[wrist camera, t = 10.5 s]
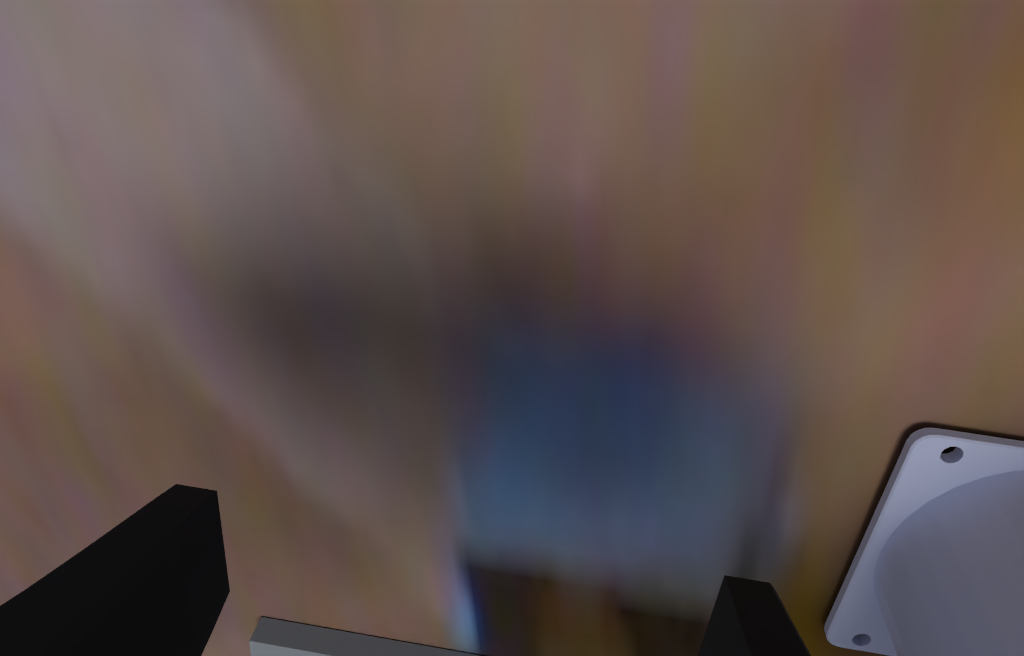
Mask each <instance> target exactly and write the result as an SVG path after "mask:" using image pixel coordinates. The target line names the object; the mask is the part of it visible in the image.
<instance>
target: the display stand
mask: <svg viewBox="0 0 1024 656" xmlns="http://www.w3.org/2000/svg"><path fill="white" fill-rule="evenodd" d="M249 643H250V651H251V656H480V655H474V654H469V653H463V652H457V651H452V650H446V649H440V648H435V647H429V646H424V645H418V644H412V643H407V642H401V641H395V640H390V639H384V638H378V637H373V636H367V635H361V634H356V633H350V632H345V631H339V630H333V629H328V628H322V627H316V626H311V625H305V624H299V623H294V622H288V621H283V620H277V619H271V618H266V617H261V619H260V621H259V623H258V625H257V627H256V629H255V631H254V633H253V635H252V637H251V638H250V640H249Z"/></svg>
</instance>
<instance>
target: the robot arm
mask: <svg viewBox="0 0 1024 656" xmlns="http://www.w3.org/2000/svg"><path fill="white" fill-rule="evenodd" d="M948 447H956V448H955V449H954V451H952V452H950V453H942V451H943V450H944V449H946V448H948ZM229 592H230V590H229V582H228V574H227V566H226V558H225V551H224V543H223V535H222V527H221V520H220V512H219V504H218V496H217V491H214V490H208V489H202V488H196V487H190V486H184V485H178V484H176V485H174V486H173V487H171V488H170V489H168V490H167V491H165V492H164V493H163V494H161V495H160V496H158V497H157V498H155V499H154V500H153V501H151V502H150V503H148V504H147V505H145V506H144V507H143V508H141V509H140V510H138V511H137V512H136V513H134V514H133V515H131V516H130V517H129V518H127V519H126V520H124V521H123V522H122V523H120V524H119V525H117V526H116V527H115V528H113V529H112V530H110V531H109V532H108V533H106V534H105V535H103V536H102V537H100V538H99V539H98V540H96V541H95V542H93V543H92V544H91V545H89V546H88V547H86V548H85V549H84V550H82V551H81V552H79V553H78V554H76V555H75V556H74V557H72V558H71V559H69V560H68V561H66V562H65V563H63V564H62V565H60V566H59V567H58V568H56V569H55V570H53V571H52V572H50V573H49V574H47V575H46V576H44V577H43V578H42V579H40V580H39V581H37V582H36V583H34V584H33V585H31V586H30V587H29V588H27V589H26V590H24V591H23V592H21V593H20V594H18V595H16V596H15V597H13V598H12V599H10V600H9V601H7V602H6V603H4V604H2V605H1V606H0V656H201V655H202V653H203V650H204V648H205V646H206V644H207V642H208V640H209V637H210V635H211V633H212V631H213V629H214V626H215V624H216V622H217V619H218V617H219V615H220V612H221V610H222V608H223V605H224V603H225V601H226V599H227V596H228V594H229ZM824 631H825V634H826V638H827V640H828V642H830V643H831V644H832V645H835V646H838V647H842V648H848V649H854V650H860V651H865V652H871V653H877V654H883V655H889V656H1024V441H1019V440H1012V439H1006V438H999V437H992V436H986V435H979V434H972V433H966V432H959V431H953V430H946V429H939V428H923V429H920V430H917V431H915V432H914V433H912V434H911V435H910V436H909V438H908V439H907V440H906V443H905V445H904V447H903V449H902V452H901V454H900V456H899V458H898V461H897V463H896V465H895V467H894V470H893V472H892V474H891V476H890V479H889V481H888V483H887V485H886V488H885V490H884V492H883V494H882V497H881V499H880V501H879V503H878V506H877V508H876V510H875V512H874V515H873V517H872V519H871V521H870V524H869V526H868V528H867V530H866V533H865V535H864V537H863V539H862V542H861V544H860V546H859V548H858V551H857V553H856V555H855V557H854V560H853V562H852V564H851V566H850V569H849V571H848V573H847V575H846V578H845V580H844V582H843V584H842V587H841V589H840V591H839V593H838V596H837V598H836V600H835V602H834V605H833V607H832V609H831V611H830V614H829V616H828V618H827V620H826V623H825V626H824ZM858 634H861V635H858ZM698 656H811V655H810V653H809V651H808V649H807V648H806V646H805V644H804V642H803V640H802V639H801V637H800V635H799V633H798V631H797V629H796V628H795V626H794V624H793V622H792V620H791V618H790V617H789V615H788V613H787V611H786V609H785V607H784V605H783V604H782V602H781V600H780V598H779V596H778V594H777V592H776V590H775V589H774V588H773V586H772V585H771V584H770V583H767V582H761V581H755V580H749V579H743V578H737V577H731V576H724V579H723V582H722V585H721V588H720V591H719V594H718V597H717V600H716V603H715V606H714V609H713V612H712V615H711V618H710V621H709V624H708V627H707V630H706V633H705V636H704V639H703V642H702V645H701V648H700V651H699V654H698Z"/></svg>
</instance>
